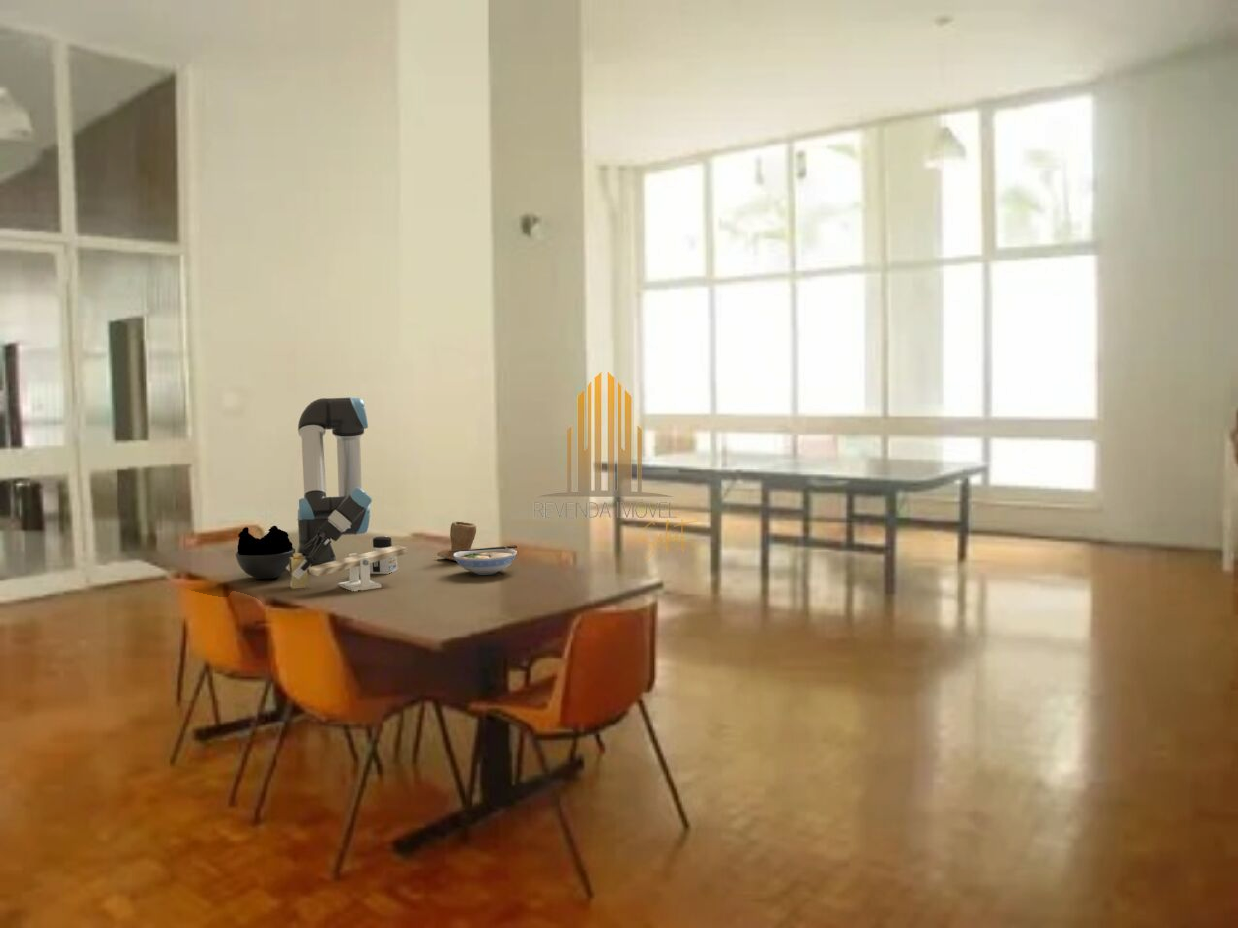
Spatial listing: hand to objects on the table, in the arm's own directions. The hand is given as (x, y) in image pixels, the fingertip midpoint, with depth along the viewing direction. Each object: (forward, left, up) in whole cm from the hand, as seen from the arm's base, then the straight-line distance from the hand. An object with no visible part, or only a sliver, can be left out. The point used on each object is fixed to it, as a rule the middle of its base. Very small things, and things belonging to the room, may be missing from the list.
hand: (291, 573), depth 338 cm
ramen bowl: (+22, +62, -5) cm, 66 cm away
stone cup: (-10, +68, -5) cm, 69 cm away
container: (-6, +35, -5) cm, 36 cm away
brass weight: (0, +2, -5) cm, 5 cm away
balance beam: (+14, +18, +4) cm, 24 cm away
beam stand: (+14, +18, -5) cm, 24 cm away
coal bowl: (-22, -2, -5) cm, 22 cm away
